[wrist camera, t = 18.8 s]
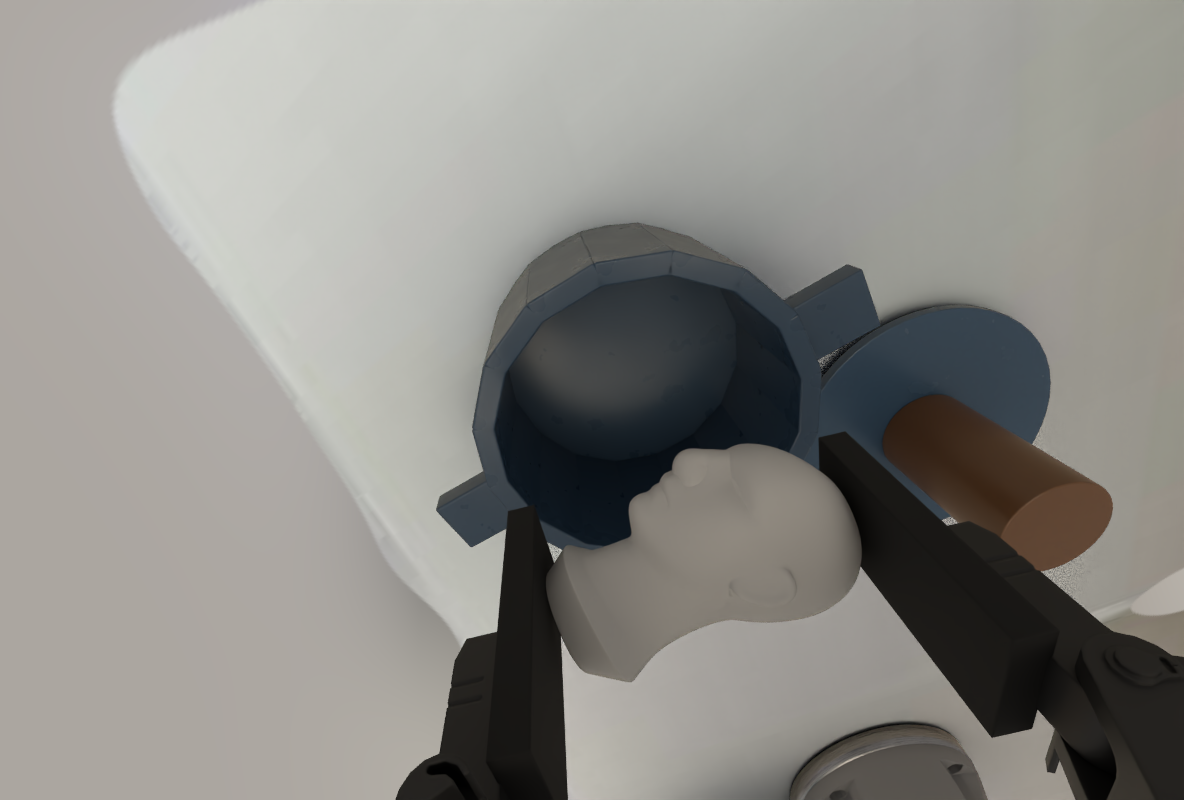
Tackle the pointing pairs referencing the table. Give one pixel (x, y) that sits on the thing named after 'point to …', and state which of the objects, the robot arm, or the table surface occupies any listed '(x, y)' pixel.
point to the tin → (639, 377)
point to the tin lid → (965, 427)
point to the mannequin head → (707, 557)
